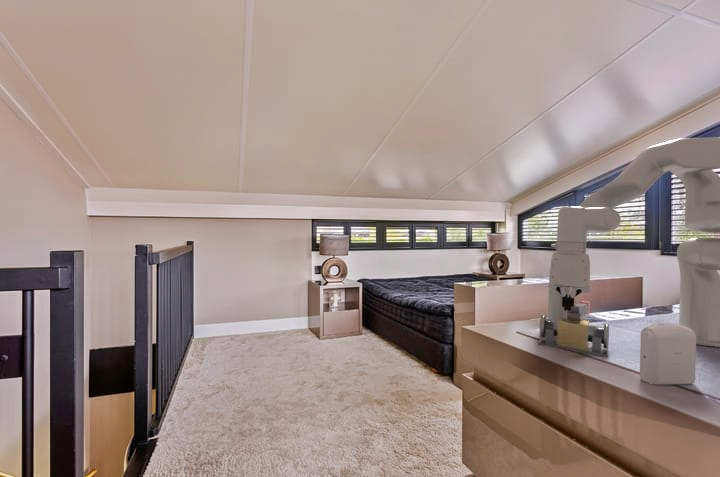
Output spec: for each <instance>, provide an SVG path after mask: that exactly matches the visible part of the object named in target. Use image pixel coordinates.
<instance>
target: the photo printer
mask: <svg viewBox="0 0 720 477" xmlns="http://www.w3.org/2000/svg"><path fill="white" fill-rule="evenodd" d="M639 348H640V353H639V354H640V356H639V357H640V358H639V376H640V378H641V380H642V381H643V382H646V384H647V383H648V384H651V385H691V384H695V382H696V366H697V365H696V364H697V361H696V360H697V354H696V353H697V344H696V335H695V333H694V332H693V330H692V329H690V328H688V327H685V326H682V325H679V323H672V322H658V323H654V324H651V325H647V326H645V327H643V328H642V329H641V332H640V346H639Z"/></svg>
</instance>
